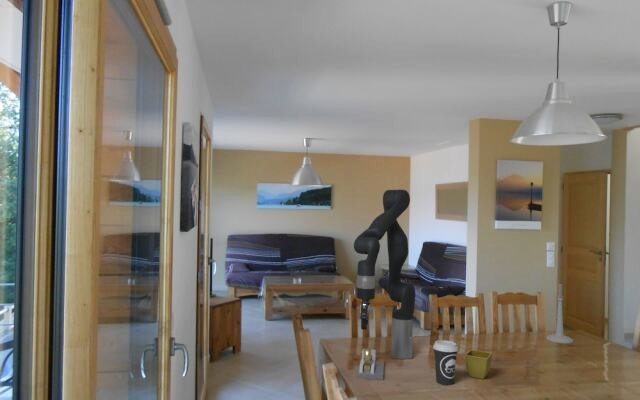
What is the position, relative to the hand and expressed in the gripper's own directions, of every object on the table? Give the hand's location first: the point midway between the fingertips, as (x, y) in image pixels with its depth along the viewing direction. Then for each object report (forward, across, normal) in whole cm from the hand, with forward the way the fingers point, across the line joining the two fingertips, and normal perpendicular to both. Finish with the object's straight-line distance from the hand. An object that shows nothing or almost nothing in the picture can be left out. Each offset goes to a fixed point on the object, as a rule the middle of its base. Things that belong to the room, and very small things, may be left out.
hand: (364, 327), depth 192 cm
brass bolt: (+17, +2, -2) cm, 17 cm away
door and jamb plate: (+18, +5, -3) cm, 19 cm away
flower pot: (+18, +7, -46) cm, 50 cm away
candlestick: (+18, +77, -98) cm, 126 cm away
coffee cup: (+18, -3, -32) cm, 37 cm away
